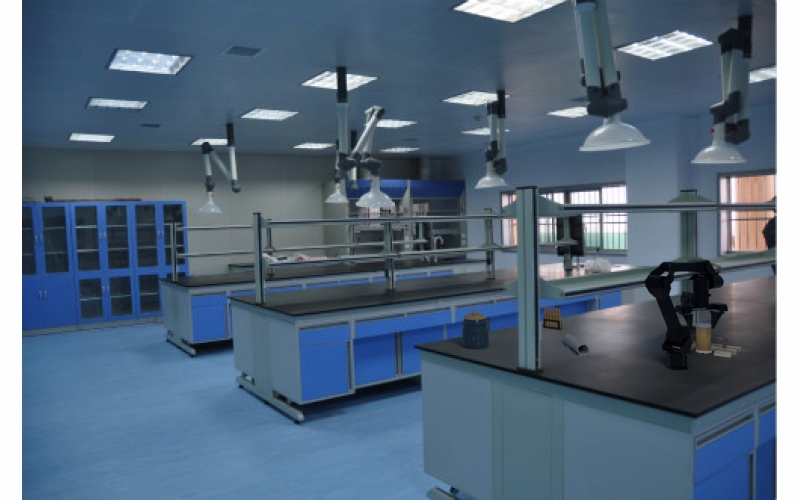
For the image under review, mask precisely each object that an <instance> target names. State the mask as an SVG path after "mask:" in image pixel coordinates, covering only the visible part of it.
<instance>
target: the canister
mask: <svg viewBox="0 0 800 500" xmlns="http://www.w3.org/2000/svg"><path fill="white" fill-rule="evenodd" d="M462 319H463V320H462V321H461V324H462V328H461V330H462V340H461V342H462V346H463V347H464V348H465V349H473V350H475V349H477V350H479V349H485V348H487V347H490V338H489V337H490V334H489V331H490V330H489V329H490V328H489V327H488V324H489V320H487V315H484V313H481V312H480V313H478V310H476V309H473V310H472V311H471V313H467V314H465V315H464V316H463V317H462Z"/></svg>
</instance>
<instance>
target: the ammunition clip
mask: <svg viewBox="0 0 800 500" xmlns="http://www.w3.org/2000/svg"><path fill="white" fill-rule="evenodd" d="M557 307H558V306H557ZM557 307H554V306H550V307H549V306H548V305H547V306H545V305H544V306H543V322H544V323H543V322H542V328H543V329H549V330H557V331H561V330H563V324H562V323H563V322H562V314H561V309H560V307H558V308H557Z"/></svg>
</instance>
